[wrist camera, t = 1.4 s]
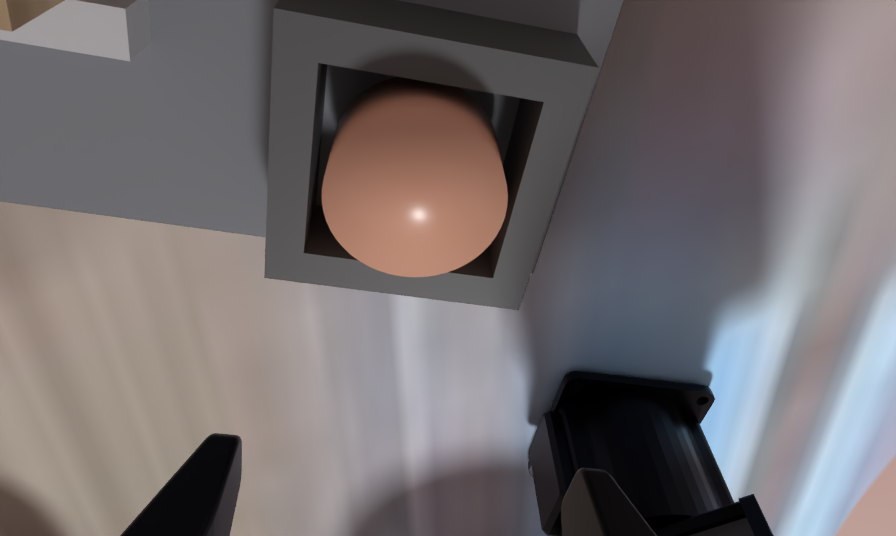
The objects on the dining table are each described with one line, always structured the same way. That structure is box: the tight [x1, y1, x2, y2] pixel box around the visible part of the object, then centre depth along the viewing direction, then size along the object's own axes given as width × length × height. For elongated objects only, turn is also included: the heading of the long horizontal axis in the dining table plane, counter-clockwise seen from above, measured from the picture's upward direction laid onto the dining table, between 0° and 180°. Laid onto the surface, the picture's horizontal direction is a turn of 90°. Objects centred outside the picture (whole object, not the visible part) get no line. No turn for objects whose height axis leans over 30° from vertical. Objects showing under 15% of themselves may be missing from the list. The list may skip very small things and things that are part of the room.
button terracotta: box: [322, 77, 508, 277], centre depth 17 cm, size 4×4×2 cm
